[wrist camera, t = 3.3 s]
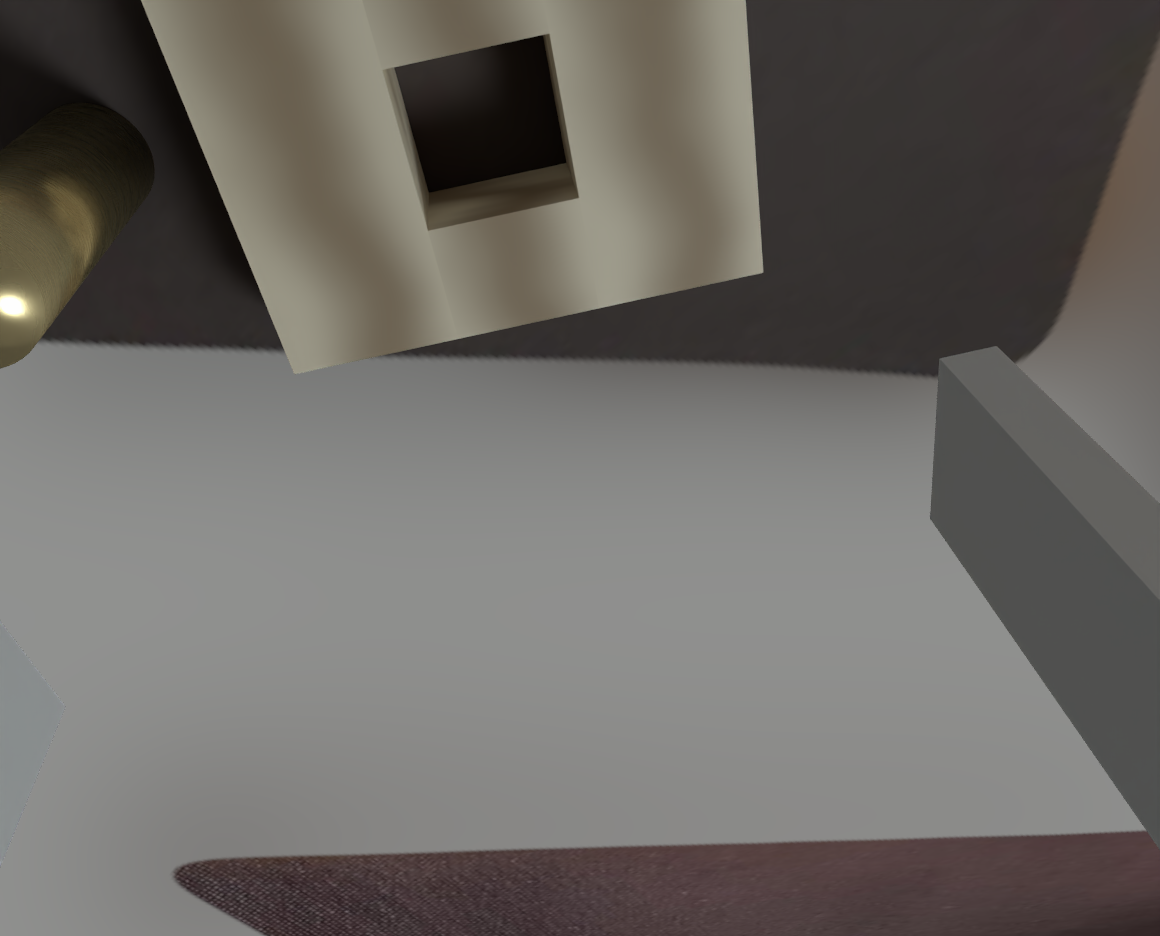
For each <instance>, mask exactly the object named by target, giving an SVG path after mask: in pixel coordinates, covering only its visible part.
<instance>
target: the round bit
mask: <svg viewBox="0 0 1160 936" xmlns="http://www.w3.org/2000/svg"><path fill="white" fill-rule="evenodd" d="M154 173H155V169H154V161H153V157H152V154H151V151H150V149H149V147H148V145H147V143H146V141H145V139H144V138H143V136H142V135H141V134H140V132H139V131H138V130H137V129H136V128H135V127H134V126H133V125H132V124H131V123H130V122H129V121H128V120H126V119H125V118H124V117H122V116H121V115H119V114H118V113H116V112H114V111H112V110H110V109H108V108H105V107H103V106H100V105H96V104H91V103H70V104H66V105H62V106H60V107H58V108H56V109H54V110H52V111H51V112H49V113H48V114H47V115H46V116H44V117H43V118H42V119H40V120H39V121H38V122H37V123H35V124H34V125H33V126H32V127H30V128H29V129H28V130H26V131H25V132H24V133H23V134H21V135H20V136H19V137H18V138H16V139H15V140H14V141H12V142H11V143H10V144H9V145H7V146H6V147H5V148H4V149H2V150H1V151H0V368H3V367H6V366H9V365H12V364H14V363H16V362H18V361H19V360H21V359H23V358H24V357H25V356H26V355H27V354H28V353H30V351H31V350H32V349H33V348H34V346H35V345H36V344H37V342H38V341H39V340H40V338H41V337H42V336H43V334H44V333H45V332H46V330H47V329H48V328H49V326H50V325H51V324H52V322H53V321H54V320H55V318H56V317H57V316H58V314H59V313H60V312H61V310H62V309H63V308H64V306H65V305H66V304H67V302H68V301H69V300H70V298H71V297H72V296H73V294H74V293H75V292H76V290H77V289H78V288H79V286H80V285H81V284H82V282H83V281H84V280H85V278H86V277H87V276H88V274H89V273H90V272H91V270H92V269H93V268H94V266H95V265H96V264H97V262H98V261H99V260H100V258H101V257H102V256H103V254H104V253H105V252H106V250H107V249H108V248H109V246H110V245H111V244H112V242H113V241H114V240H115V238H116V237H117V236H118V234H119V233H120V232H121V230H122V229H123V228H124V226H125V225H126V224H127V222H128V221H129V220H130V218H131V217H132V216H133V214H134V213H135V212H136V210H137V209H138V208H139V206H140V205H141V204H142V202H143V201H144V200H145V198H146V197H147V196H148V194H149V192H150V190H151V188H152V185H153V181H154Z"/></svg>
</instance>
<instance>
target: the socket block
mask: <svg viewBox="0 0 1160 936" xmlns="http://www.w3.org/2000/svg"><path fill="white" fill-rule="evenodd" d="M141 2H142V4H143V6H144V9H145V11H146V14H147V16H148V19H149V21H150V24H151V26H152V28H153V31H154V33H155V36H156V38H157V41H158V43H159V45H160V48H161V50H162V53H163V55H164V58H165V60H166V63H167V65H168V67H169V70H170V72H171V75H172V77H173V80H174V82H175V84H176V87H177V89H178V92H179V94H180V97H181V99H182V102H183V104H184V106H185V109H186V111H187V114H188V116H189V119H190V121H191V123H192V126H193V128H194V131H195V133H196V136H197V138H198V141H199V143H200V145H201V148H202V150H203V153H204V155H205V158H206V160H207V162H208V165H209V167H210V170H211V172H212V175H213V177H214V179H215V182H216V184H217V187H218V189H219V192H220V194H221V197H222V199H223V201H224V204H225V206H226V209H227V211H228V214H229V216H230V218H231V221H232V223H233V226H234V228H235V231H236V233H237V236H238V238H239V240H240V243H241V245H242V248H243V250H244V253H245V255H246V257H247V260H248V262H249V265H250V267H251V270H252V272H253V275H254V277H255V279H256V282H257V284H258V287H259V289H260V292H261V294H262V296H263V299H264V301H265V304H266V306H267V309H268V311H269V314H270V316H271V318H272V321H273V323H274V326H275V328H276V331H277V333H278V335H279V338H280V340H281V343H282V345H283V348H284V350H285V353H286V355H287V357H288V360H289V362H290V365H291V367H292V370H293V372H294V374H298V373H303V372H307V371H312V370H316V369H321V368H326V367H330V366H335V365H340V364H344V363H348V362H354V361H358V360H363V359H367V358H372V357H377V356H381V355H386V354H390V353H395V352H400V351H404V350H409V349H413V348H418V347H423V346H427V345H432V344H436V343H441V342H446V341H450V340H455V339H460V338H464V337H469V336H473V335H478V334H483V333H487V332H492V331H496V330H501V329H506V328H510V327H515V326H519V325H524V324H529V323H533V322H538V321H542V320H547V319H552V318H556V317H561V316H566V315H570V314H575V313H579V312H584V311H589V310H593V309H598V308H602V307H607V306H612V305H616V304H621V303H625V302H630V301H635V300H639V299H644V298H648V297H653V296H658V295H662V294H667V293H671V292H676V291H681V290H685V289H690V288H695V287H699V286H704V285H708V284H713V283H718V282H722V281H727V280H731V279H736V278H741V277H745V276H750V275H754V274H759V273H763V261H762V246H761V230H760V215H759V200H758V185H757V169H756V154H755V139H754V124H753V108H752V93H751V78H750V63H749V47H748V32H747V17H746V2H745V0H141ZM540 35H543V38H544V44H545V49H546V55H547V60H548V65H549V71H550V76H551V82H552V87H553V92H554V98H555V103H556V109H557V114H558V120H559V125H560V130H561V136H562V141H563V147H564V152H565V157H566V163H564V164H559V165H554V166H550V167H545V168H541V169H536V170H531V171H527V172H522V173H518V174H513V175H508V176H504V177H499V178H495V179H490V180H485V181H481V182H476V183H472V184H467V185H462V186H458V187H453V188H449V189H444V190H439V191H435V192H430V193H429V192H428V188H427V185H426V181H425V177H424V174H423V170H422V166H421V163H420V159H419V156H418V152H417V148H416V145H415V141H414V138H413V134H412V130H411V127H410V123H409V119H408V116H407V112H406V109H405V105H404V101H403V98H402V94H401V91H400V87H399V83H398V80H397V76H396V72H395V69H394V67H398V66H402V65H407V64H411V63H416V62H421V61H425V60H430V59H434V58H439V57H443V56H448V55H453V54H457V53H462V52H466V51H471V50H476V49H480V48H485V47H489V46H494V45H499V44H503V43H508V42H512V41H517V40H522V39H526V38H531V37H535V36H540Z"/></svg>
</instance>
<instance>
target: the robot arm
mask: <svg viewBox="0 0 1160 936" xmlns="http://www.w3.org/2000/svg"><path fill="white" fill-rule="evenodd" d="M936 411H937V412H936V428H935V444H934V461H933V478H932V495H931V513H930V519H931V520H932V522H933V523H934V525H935V526H936V528H937V529H938V531H939V532H940V533H941V535H942V536H943V538H944V539H945V541H946V542H947V543H948V545H949V546H950V548H951V549H952V551H953V552H954V554H955V555H956V556H957V558H958V559H959V561H960V562H961V564H962V565H963V567H964V568H965V569H966V571H967V572H968V573H969V575H970V576H971V578H972V579H973V581H974V582H975V584H976V585H977V587H978V588H979V590H980V591H981V592H982V594H983V595H984V597H985V598H986V600H987V601H988V602H989V604H990V605H991V607H992V608H993V610H994V611H995V613H996V614H997V616H998V617H999V618H1000V620H1001V621H1002V623H1003V624H1004V626H1005V627H1006V629H1007V630H1008V631H1009V633H1010V634H1011V636H1012V637H1013V639H1014V640H1015V642H1016V643H1017V644H1018V646H1019V647H1020V649H1021V650H1022V652H1023V653H1024V655H1025V656H1026V657H1027V659H1028V660H1029V662H1030V663H1031V665H1032V666H1033V667H1034V669H1035V670H1036V672H1037V673H1038V675H1039V676H1040V677H1041V679H1042V680H1043V682H1044V683H1045V685H1046V686H1047V688H1048V689H1049V691H1050V692H1051V693H1052V695H1053V696H1054V698H1055V699H1056V701H1057V702H1058V704H1059V705H1060V706H1061V708H1062V709H1063V711H1064V712H1065V714H1066V715H1067V716H1068V718H1069V719H1070V721H1071V722H1072V724H1073V725H1074V727H1075V728H1076V729H1077V731H1078V732H1079V734H1080V735H1081V736H1082V738H1083V740H1084V741H1085V742H1086V744H1087V745H1088V747H1089V748H1090V750H1091V751H1092V752H1093V754H1094V755H1095V757H1096V758H1097V760H1098V761H1099V763H1100V764H1101V765H1102V767H1103V768H1104V770H1105V771H1106V772H1107V774H1108V775H1109V777H1110V779H1111V780H1112V781H1113V783H1114V784H1115V786H1116V787H1117V788H1118V790H1119V791H1120V793H1121V794H1122V796H1123V797H1124V799H1125V800H1126V802H1127V803H1128V804H1129V806H1130V807H1131V809H1132V810H1133V812H1134V813H1135V815H1136V816H1137V817H1138V819H1139V820H1140V822H1141V823H1142V825H1143V826H1144V827H1145V829H1146V830H1147V832H1148V833H1149V835H1150V836H1151V838H1152V839H1153V841H1154V842H1155V843H1156V845H1157V846H1158V848H1159V849H1160V503H1159V502H1158V501H1156V500H1155V499H1154V498H1153V497H1152V496H1151V495H1150V494H1149V493H1148V492H1147V491H1146V490H1145V489H1144V488H1143V487H1142V486H1141V485H1140V484H1139V483H1138V482H1137V481H1136V480H1135V479H1134V478H1133V477H1132V476H1131V475H1130V474H1128V473H1127V472H1126V471H1125V470H1124V469H1123V468H1122V467H1121V466H1120V465H1119V464H1118V463H1117V462H1116V461H1115V460H1114V459H1113V458H1112V457H1111V456H1110V455H1109V454H1108V453H1107V452H1106V451H1105V450H1103V448H1102V447H1101V446H1099V445H1098V444H1097V443H1096V442H1095V441H1094V440H1093V439H1092V438H1091V437H1090V436H1089V435H1088V434H1087V433H1086V432H1085V431H1084V430H1083V429H1082V428H1081V427H1080V426H1079V425H1078V424H1077V423H1075V421H1074V420H1073V419H1071V418H1070V417H1069V416H1068V415H1067V414H1066V413H1065V412H1064V411H1063V410H1062V409H1061V408H1060V407H1059V406H1058V405H1057V404H1056V403H1055V402H1054V401H1053V400H1052V399H1051V398H1050V397H1049V396H1048V395H1047V394H1046V393H1044V392H1043V391H1042V390H1041V389H1040V388H1039V387H1038V386H1037V385H1036V384H1035V383H1034V382H1033V381H1032V380H1031V379H1030V378H1029V377H1028V376H1027V375H1026V374H1025V373H1024V372H1023V371H1022V370H1021V369H1020V368H1019V367H1018V366H1017V365H1016V364H1014V363H1013V362H1012V361H1011V360H1010V359H1009V358H1008V357H1007V356H1006V355H1005V354H1004V353H1003V352H1002V351H1001V350H1000V349H999V348H998V347H997V346H995V347H990V348H986V349H981V350H977V351H972V352H967V353H963V354H958V355H954V356H949V357H945V358H940V360H939V377H938V394H937V410H936ZM64 710H65V705H64V704H63V702H62V701H61V700H60V699H59V697H58V696H57V695H56V693H55V692H54V691H53V689H52V688H51V687H50V685H49V684H48V683H47V682H46V680H45V679H44V678H43V676H42V675H41V674H40V672H39V671H38V670H37V668H36V667H35V666H34V664H33V663H32V662H31V660H30V659H29V658H28V657H27V655H26V654H25V653H24V651H23V650H22V649H21V647H20V646H19V645H18V643H17V642H16V641H15V639H14V638H13V637H12V635H11V634H10V633H9V632H8V630H7V629H6V628H5V626H4V625H3V624H2V622H1V621H0V866H1V864H2V861H3V859H4V856H5V854H6V851H7V849H8V847H9V844H10V842H11V839H12V837H13V834H14V832H15V829H16V827H17V825H18V822H19V820H20V817H21V815H22V812H23V810H24V807H25V805H26V802H27V800H28V798H29V795H30V793H31V790H32V788H33V785H34V783H35V780H36V778H37V776H38V773H39V771H40V768H41V766H42V763H43V761H44V758H45V756H46V754H47V751H48V749H49V746H50V744H51V741H52V739H53V736H54V734H55V732H56V729H57V727H58V724H59V722H60V719H61V717H62V715H63V712H64Z"/></svg>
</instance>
